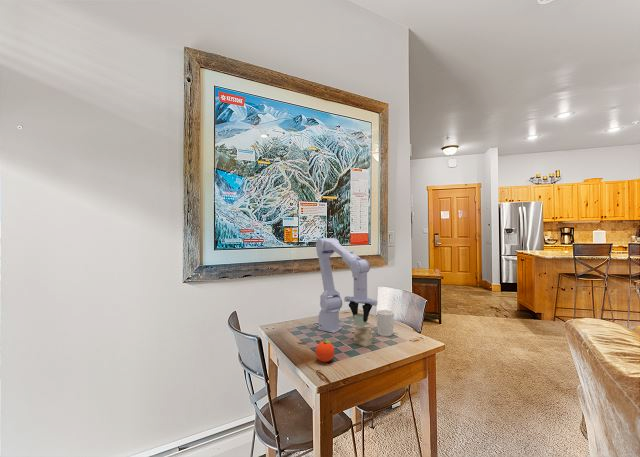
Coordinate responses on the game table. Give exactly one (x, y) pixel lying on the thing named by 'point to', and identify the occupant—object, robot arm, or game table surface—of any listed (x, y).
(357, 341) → the slab lower
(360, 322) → the cube
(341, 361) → the game table surface
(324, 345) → the clementine
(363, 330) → the slab upper
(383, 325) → the white cup
